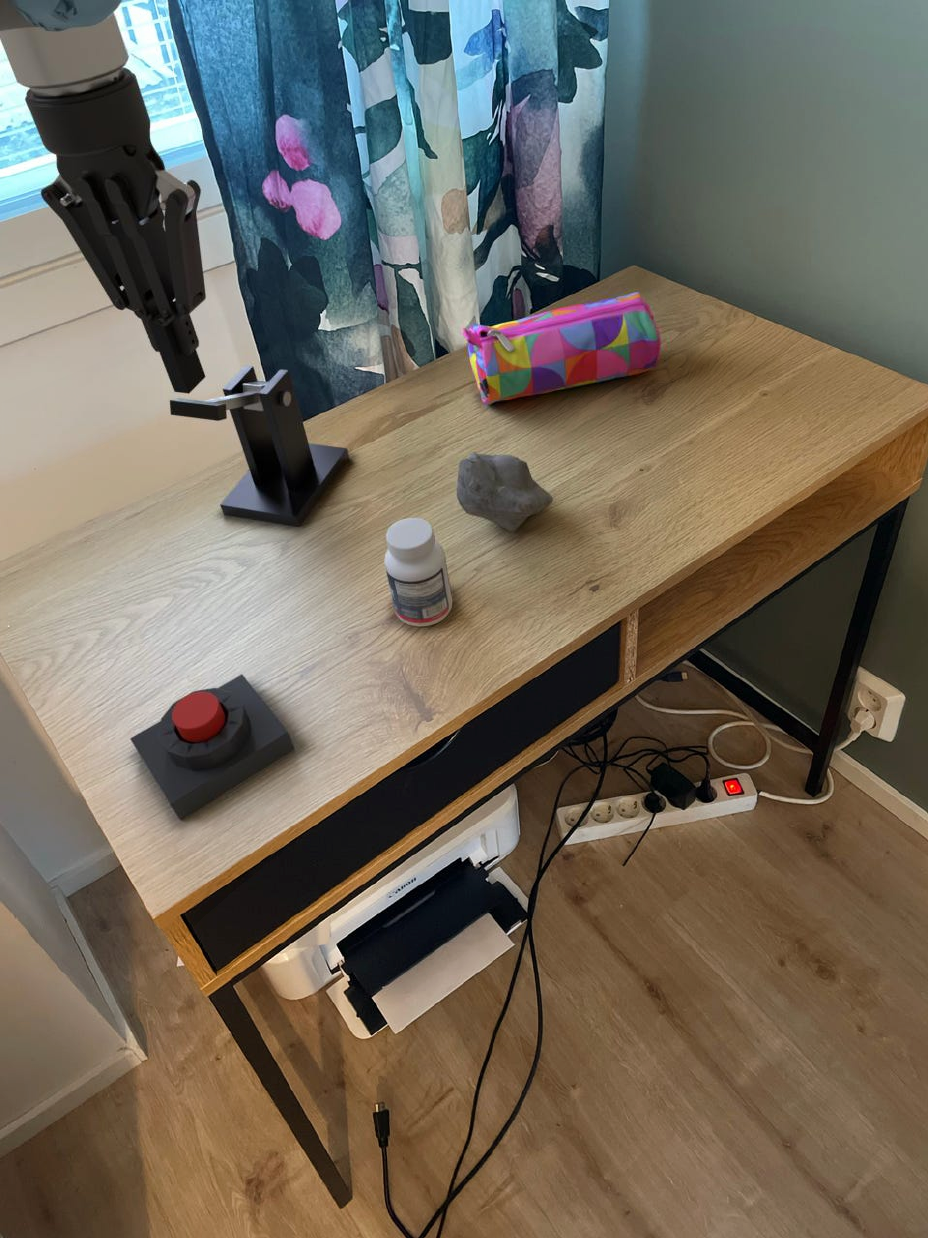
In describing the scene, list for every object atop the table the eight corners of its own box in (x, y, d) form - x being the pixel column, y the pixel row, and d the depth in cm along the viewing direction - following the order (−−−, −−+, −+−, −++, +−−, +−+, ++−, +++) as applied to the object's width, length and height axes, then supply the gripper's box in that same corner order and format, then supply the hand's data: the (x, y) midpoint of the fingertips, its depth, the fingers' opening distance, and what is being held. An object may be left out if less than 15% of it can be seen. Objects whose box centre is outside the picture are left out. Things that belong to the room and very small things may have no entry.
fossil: (577, 526, 86) (576, 457, 80) (504, 570, 83) (497, 502, 77) (505, 476, 93) (499, 409, 87) (435, 514, 90) (424, 448, 84)
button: (190, 750, 67) (183, 737, 66) (171, 722, 69) (164, 708, 68) (233, 725, 69) (226, 711, 67) (213, 698, 71) (206, 683, 69)
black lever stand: (299, 527, 91) (266, 418, 81) (223, 514, 93) (183, 408, 84) (349, 457, 98) (324, 351, 89) (277, 448, 101) (246, 344, 92)
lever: (218, 427, 78) (217, 399, 77) (170, 420, 80) (168, 393, 79) (290, 408, 89) (290, 383, 88) (247, 403, 90) (246, 379, 89)
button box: (180, 820, 67) (161, 791, 65) (139, 754, 72) (121, 724, 69) (295, 749, 71) (282, 717, 68) (249, 690, 76) (235, 659, 73)
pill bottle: (403, 585, 83) (387, 510, 77) (458, 588, 82) (446, 512, 76) (388, 626, 79) (371, 551, 73) (446, 630, 78) (433, 554, 72)
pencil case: (480, 425, 100) (472, 351, 93) (461, 382, 106) (453, 311, 100) (666, 384, 102) (671, 310, 95) (636, 345, 108) (639, 273, 102)
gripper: (187, 58, 61) (276, 368, 78) (37, 61, 65) (152, 355, 82) (123, 95, 56) (232, 416, 73) (-35, 96, 60) (103, 400, 77)
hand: (190, 384), depth 77 cm, fingers closed
